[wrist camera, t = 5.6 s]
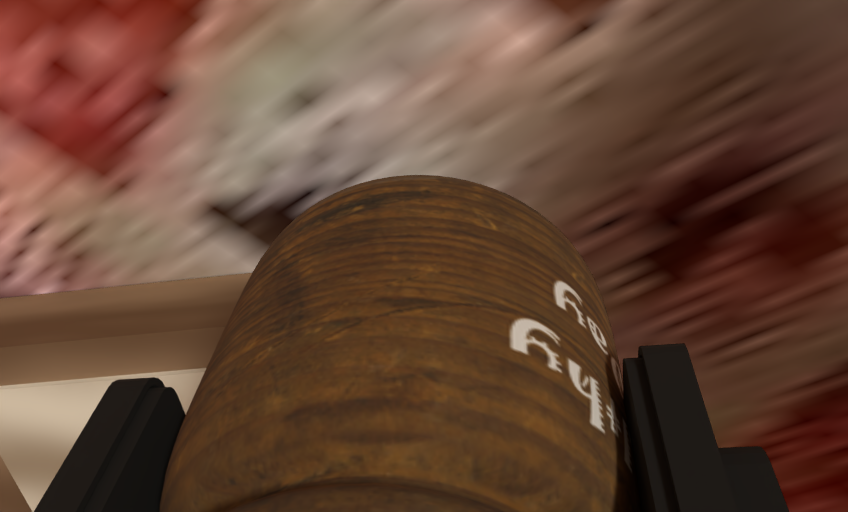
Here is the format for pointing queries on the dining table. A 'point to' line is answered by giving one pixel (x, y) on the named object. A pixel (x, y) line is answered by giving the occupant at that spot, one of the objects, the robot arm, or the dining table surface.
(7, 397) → the picture frame
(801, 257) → the dining table surface
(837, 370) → the dining table surface
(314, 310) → the utensil holder
